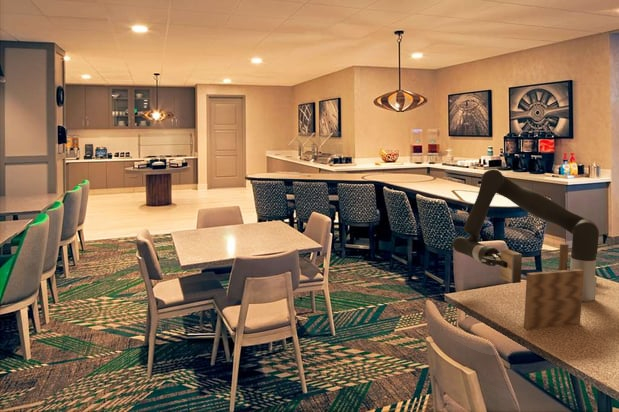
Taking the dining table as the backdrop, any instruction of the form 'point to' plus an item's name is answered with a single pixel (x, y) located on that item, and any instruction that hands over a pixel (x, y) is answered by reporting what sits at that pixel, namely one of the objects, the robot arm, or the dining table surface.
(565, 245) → the wooden block
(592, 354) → the dining table surface
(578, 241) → the robot arm
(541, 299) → the zigzag wooden panel
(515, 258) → the rail end
